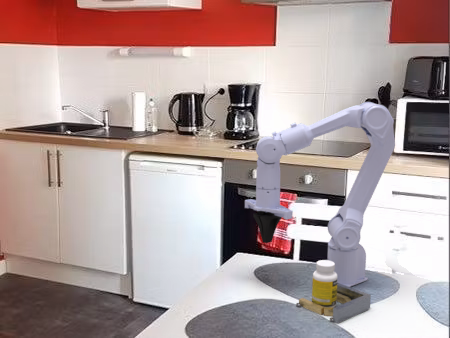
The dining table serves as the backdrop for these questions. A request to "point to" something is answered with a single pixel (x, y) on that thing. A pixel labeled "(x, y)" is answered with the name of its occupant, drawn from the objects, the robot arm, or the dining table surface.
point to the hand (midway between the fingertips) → (267, 241)
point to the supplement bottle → (324, 284)
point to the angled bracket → (350, 307)
